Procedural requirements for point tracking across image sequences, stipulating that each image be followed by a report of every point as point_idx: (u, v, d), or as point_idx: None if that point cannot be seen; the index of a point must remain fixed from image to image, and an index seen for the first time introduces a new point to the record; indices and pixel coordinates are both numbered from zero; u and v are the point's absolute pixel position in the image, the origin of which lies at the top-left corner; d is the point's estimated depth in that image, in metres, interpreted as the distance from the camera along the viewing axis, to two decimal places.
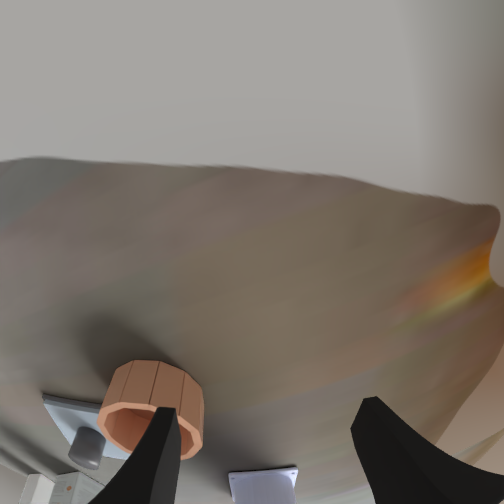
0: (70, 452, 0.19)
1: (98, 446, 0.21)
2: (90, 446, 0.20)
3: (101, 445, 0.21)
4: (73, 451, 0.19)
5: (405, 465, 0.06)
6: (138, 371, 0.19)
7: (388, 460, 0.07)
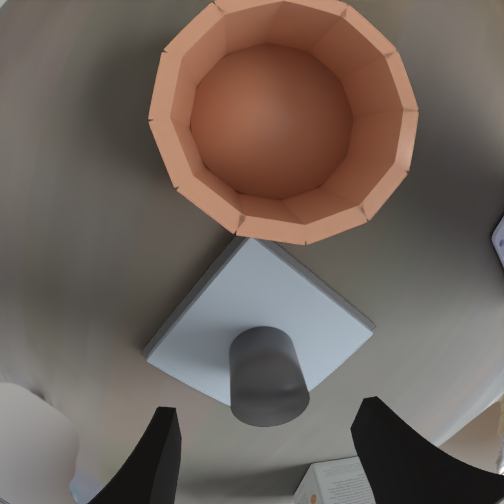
0: (231, 403, 0.11)
1: (277, 347, 0.12)
2: (259, 355, 0.12)
3: (283, 344, 0.13)
4: (233, 393, 0.11)
5: (405, 465, 0.06)
6: None
7: (388, 460, 0.07)
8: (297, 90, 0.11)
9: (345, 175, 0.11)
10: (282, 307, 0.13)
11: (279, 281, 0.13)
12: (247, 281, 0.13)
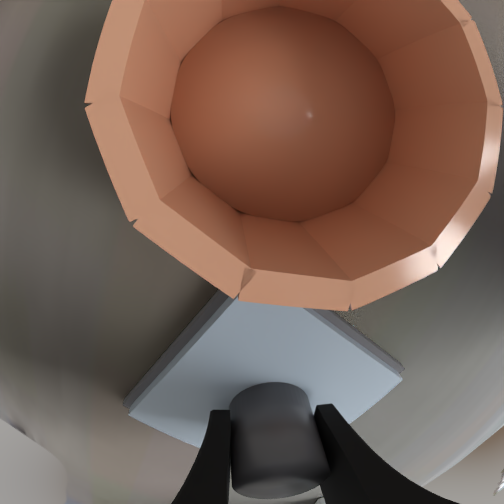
0: (233, 483, 0.07)
1: (291, 414, 0.09)
2: (268, 428, 0.08)
3: (298, 407, 0.09)
4: (235, 474, 0.07)
5: (350, 481, 0.06)
6: None
7: (337, 472, 0.07)
8: (322, 68, 0.07)
9: (392, 191, 0.07)
10: (297, 360, 0.10)
11: (295, 331, 0.09)
12: (252, 332, 0.09)
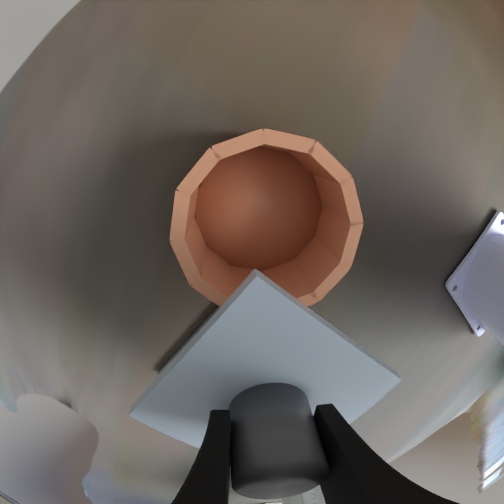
0: (233, 483, 0.07)
1: (290, 414, 0.09)
2: (268, 428, 0.08)
3: (297, 407, 0.09)
4: (235, 475, 0.07)
5: (350, 481, 0.06)
6: None
7: (336, 473, 0.07)
8: (278, 186, 0.15)
9: (310, 257, 0.15)
10: (296, 361, 0.10)
11: (294, 331, 0.09)
12: (251, 332, 0.09)
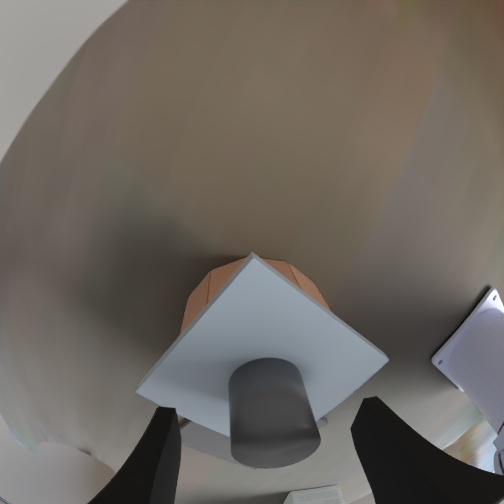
0: (232, 448, 0.09)
1: (284, 384, 0.10)
2: (264, 396, 0.10)
3: (291, 379, 0.11)
4: (234, 439, 0.09)
5: (405, 465, 0.06)
6: (192, 300, 0.15)
7: (388, 460, 0.07)
8: None
9: None
10: (289, 337, 0.11)
11: (287, 309, 0.11)
12: (249, 309, 0.11)
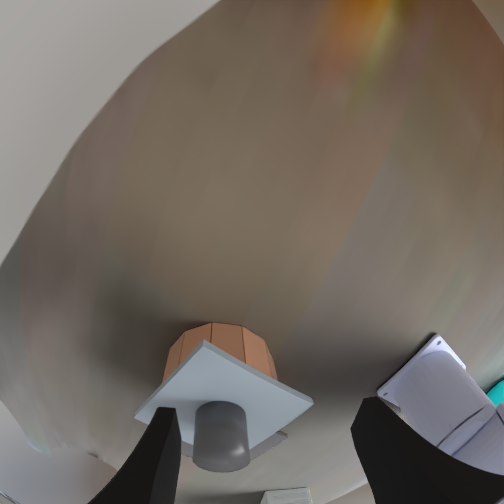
0: (193, 458, 0.13)
1: (227, 420, 0.15)
2: (212, 428, 0.14)
3: (233, 417, 0.15)
4: (193, 453, 0.13)
5: (405, 465, 0.06)
6: (171, 354, 0.19)
7: (388, 460, 0.07)
8: None
9: None
10: (233, 389, 0.16)
11: (229, 374, 0.15)
12: (203, 373, 0.15)
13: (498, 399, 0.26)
